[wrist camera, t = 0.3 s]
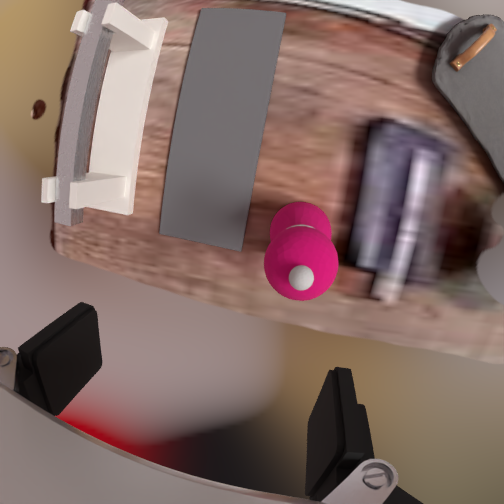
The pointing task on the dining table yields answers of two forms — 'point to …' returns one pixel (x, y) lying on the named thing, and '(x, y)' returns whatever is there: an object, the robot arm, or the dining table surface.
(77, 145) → the rail
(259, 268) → the dining table surface
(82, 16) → the rail stand
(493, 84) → the serving board
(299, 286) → the pepper mill
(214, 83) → the mat
